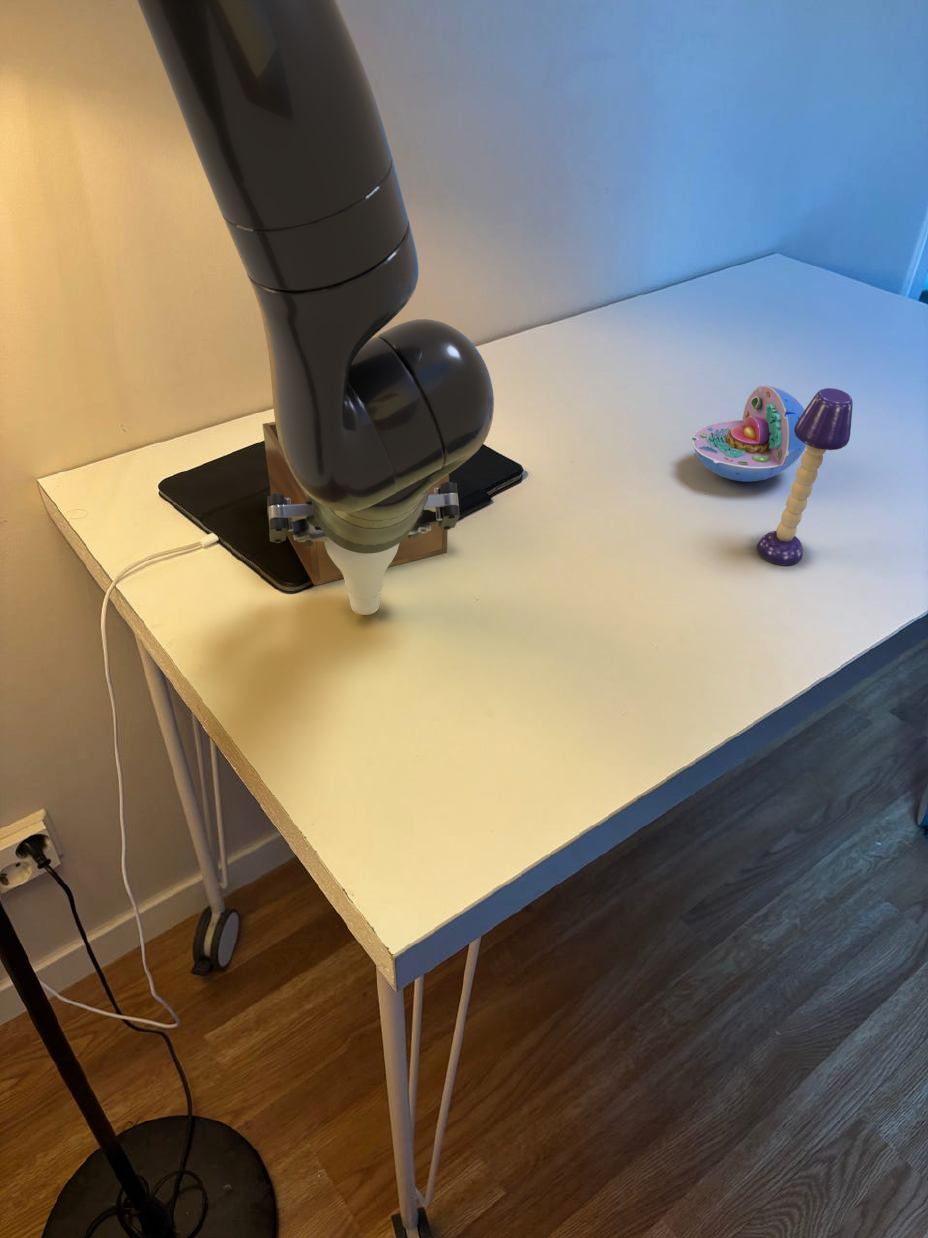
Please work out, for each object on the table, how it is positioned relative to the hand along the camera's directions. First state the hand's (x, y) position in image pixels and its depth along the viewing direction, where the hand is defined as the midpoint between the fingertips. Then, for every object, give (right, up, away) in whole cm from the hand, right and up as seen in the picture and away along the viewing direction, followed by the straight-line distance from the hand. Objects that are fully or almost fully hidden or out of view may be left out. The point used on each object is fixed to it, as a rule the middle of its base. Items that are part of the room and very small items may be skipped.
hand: (359, 529), depth 78 cm
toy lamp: (+39, -1, +13) cm, 41 cm away
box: (-2, +1, +13) cm, 13 cm away
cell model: (+38, +8, +23) cm, 45 cm away
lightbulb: (0, -7, +4) cm, 8 cm away
